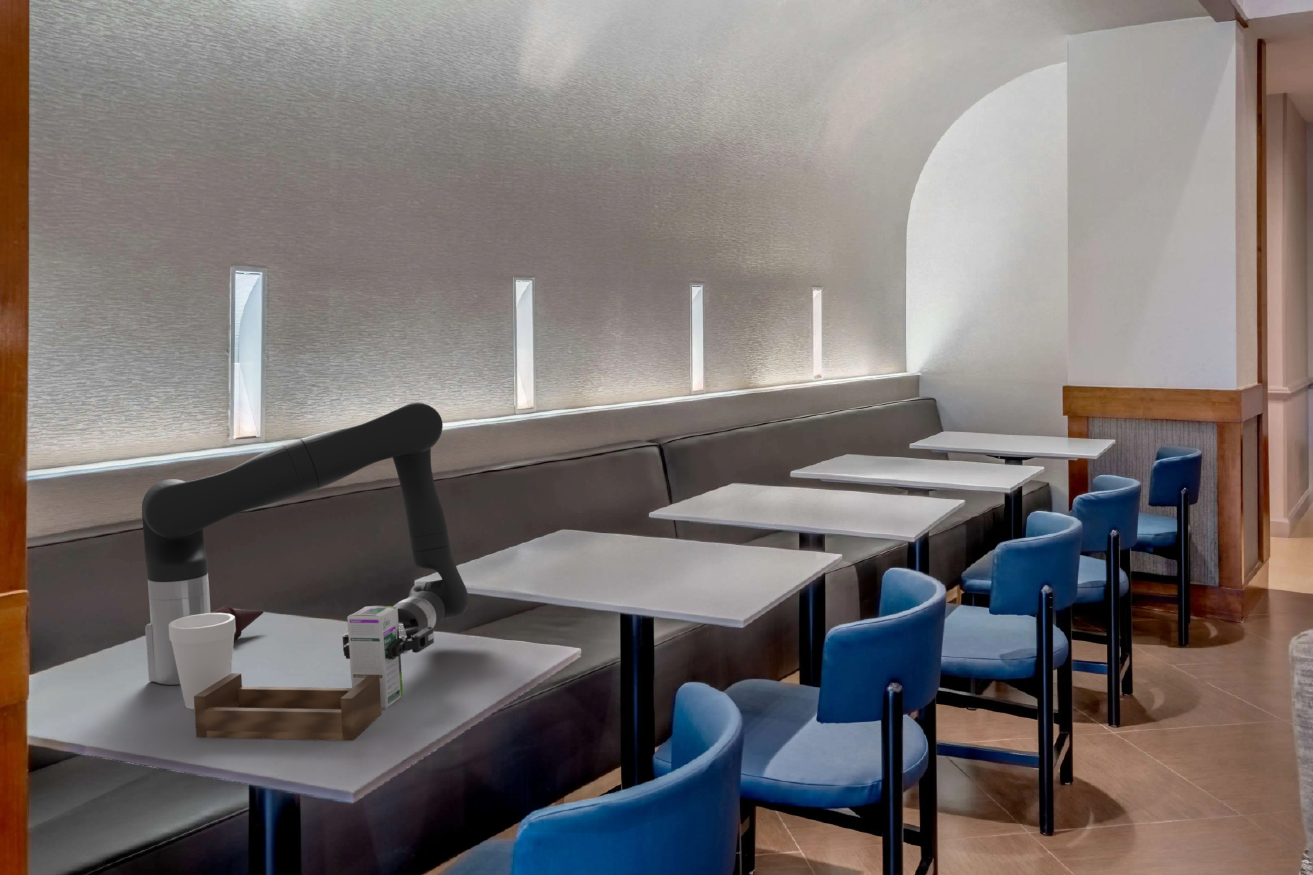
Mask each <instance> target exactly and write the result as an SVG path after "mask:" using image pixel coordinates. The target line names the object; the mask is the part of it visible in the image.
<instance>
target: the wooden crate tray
mask: <svg viewBox="0 0 1313 875" xmlns="http://www.w3.org/2000/svg"><path fill="white" fill-rule="evenodd" d="M242 679H243V678H242V673H240V672H239V673H238V672H237V673H234V672H233V673H232V672H231V674H229V675H228V676H226V677H225V678H223V679H221V680H220V681H218V682H216V683H215V684H213V685H211V686H210V687H208V688H206V689H205V690H203V691H202V692H200V693H198V694H197V695H195V696H194V708H195V709H194V719H195V735H196V736H195V738H196V737H202V738H206V737H207V738H206V739H211V738H212V739H248V740H250V739H253V740H255V739H257V740H258V739H260V740H298V741H299V740H301V741H302V740H304V741H305V740H307V741H309V740H311V741H350V742H351V741H355V740H356V739H357V738H358V737H359V736H360V735H361V734H362V733H364V732H365V731H366V730H367V729H368V728H369V726H371V725H372V724H373V723H374V722H375V721H376V720H377V719H378V718H379V717H380V716H381V715H382V709H381V698H380V677H379V675H368V676H367V677H366V678H365V679H364V680H362V681H361V682H360V683H359V684H357V685H356V686H355V687H354V688H352V687H319V686H318V687H315V686H314V687H312V686H311V687H310V686H309V687H308V686H307V687H304V686H303V687H302V686H299V687H298V686H243V680H242ZM208 737H209V738H208Z"/></svg>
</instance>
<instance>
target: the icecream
mask: <svg viewBox="0 0 1313 875" xmlns="http://www.w3.org/2000/svg"><path fill="white" fill-rule="evenodd" d="M212 613H226V614H231V615H233V616H235V627H236V631H235V634H234V641H237V640H238V639H239V638H240V637H241V636H242V631H244V630H245V629H246V628H247V627H248V626H250V625H251V624H252V623H254V621H256V620H257V619H258V618H259V617H260V616H262V615H263V614H264V610H258V609H235V608H234V607H232V606H227V605H223V606H221V607H219V608H217V609H216V610H214V611H213V612H212Z"/></svg>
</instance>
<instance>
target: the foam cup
mask: <svg viewBox="0 0 1313 875" xmlns="http://www.w3.org/2000/svg"><path fill="white" fill-rule="evenodd" d="M235 631H236V627H235V616H233V615H231V614H226V613H213V612H211V613H205V614H198V615H191V616H187V617H183V618H179V619H176V620H174V621H172V622H170V624H169V639H170V641H171V643H172V647H173V652H174V656H175V661H176V666H177V670H178V675H179V680H180V684H179V685H180V689H181V693H182V698H183V701H184V704H185V705H184V706H185V707H186V708H188V709H190V710H195V708H194V696H195V695H197V694H198V693H200V692H202V691H203V690H205V689H206V688H208V687H210V686H211V685H213V684H215V683H216V682H218V681H220V680H221V679H223V678H225V677H226V676H228V675H229V674H231V673H232V668H233V658H234V657H233V655H234V641H235V640H234V634H235Z"/></svg>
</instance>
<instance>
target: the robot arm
mask: <svg viewBox="0 0 1313 875" xmlns="http://www.w3.org/2000/svg"><path fill="white" fill-rule="evenodd" d="M443 428H444V427H443V420H442V417H441V415H440V413H439V412H438V411H437V410H436V409H435V408H434V407H432V406H430V405H429V404H427V403H426V404H425V403H423V402H418V401H417V402H416V401H415V402H412V401H411V402H408V403H405V404H403V405H400V406H399V407H398V408H395V409H393V410H391V411H389V412H387V413H384V414H381V415H380V416H378V417H375V418H373V419H370V420H367V421H365V422H362V423H359V424H356V425H350V426H348V427H347V426H346V427H342V428H341V427H340V428H337V429H332V430H328V431H325V432H320V433H317V434H313V435H310V436H306V437H303V438H302V437H301V438H299V439H296V440H293V441H290V442H286V443H284V444H281V445H278V446H275V447H273V448H270V449H268V450H265V451H264V452H261V453H260V454H257V455H255V456H254V457H251V458H250V459H248V460H246V461H245V462H242V463H240V464H239V465H237V466H235V467H233V468H230V469H229V470H226V471H223V472H220V473H217V474H213V475H208V476H205V477H201V478H198V479H193V480H188V481H185V480H182V479H176V478H172V479H170V478H168V479H164V480H163V479H162V480H160V481H158V482H157V483H155V484H153V485H152V486H151V487H150V488H149V489H148V490H147V492H145V495H144V496H143V499H142V503H141V519H142V532H143V533H142V534H143V545H144V558H145V559H144V560H145V564H146V565H145V566H146V576H147V589H148V600H149V601H148V602H149V603H148V604H149V616H150V622H149V623H147V624H146V625H145V627H144V628H145V643H146V657H147V658H146V660H147V673H148V681H149V682H154V683H157V684H159V685H166V686H167V685H181V684H180V680H179V675H178V670H177V666H176V661H175V656H174V652H173V647H172V643H171V641H170V639H169V624H170V622H172V621H174V620H176V619H179V618H183V617H187V616H191V615H198V614H205V613H212V612H211V600H210V599H211V598H210V584H209V581H210V580H209V573H208V572H209V570H208V569H209V568H208V557H207V551H206V545H205V535H204V529H206V528H208V527H210V526H211V525H214V524H216V523H219V522H220V521H222V520H225V519H227V518H230V517H232V516H234V515H236V514H240V513H242V512H245V511H248V510H253V509H256V508H260V507H264V506H267V505H272V504H275V503H278V502H282V501H285V500H288V499H292V498H294V497H298V496H302V495H304V494H307V493H310V492H312V491H316V490H317V489H321V488H323V487H326V486H329V485H330V484H334V483H335V482H337V481H340V480H342V479H344V478H346V477H348V476H351V475H352V474H354V473H356V472H358V471H360V470H362V469H363V468H366V467H368V466H370V465H373V464H374V463H375V464H376V463H378V462H381V461H384V460H387V459H391V458H392V460H393V463H394V467H395V469H396V474H397V477H398V480H399V484H400V485H399V486H400V489H401V494H402V501H403V507H404V512H405V518H406V526H407V534H408V540H409V547H410V552H411V558H412V563H413V566H414V567H415V568H417V569H420V570H432V571H435V572H436V573H438V575H439V576H440V578H441V579H439V580H431V581H425V582H420V583H417V584H415V585H413V586H412V587H411V588H410V590H409V592H408V593H409V594H408V596H407V598H405V599H402V600H400V601H398V602H397V603H395V604H394V605H393V606H391V607H397V609H398V624H399V639H396V640H394V641H393V642H392V643H391V644H389V645H388V659H395V658H396V657H397V656H402V655H405V654H407V653H409V651H412V653H416V654H417V653H419V652H421V651H423V650H424V649H426V648H428V647H429V646H431V645H433V644H434V643H435V638H434V637H435V635H434V630H435V628H437V627H438V626H439V624H440V623H441V622H442V620H443V619H450V618H455V617H456V618H457V617H459V616H462V615H464V613H465V612H466V610H467V608H468V605H469V593H468V592H469V591H468V590H467V587H466V585H465V583H464V581H463V578H462V576H461V575H460V572H459V569H458V568H457V564H456V562H455V560H454V556H453V554H452V550H451V546H450V545H451V544H450V536H449V530H448V524H447V519H446V516H445V512H444V510H443V506H442V502H441V501H440V497H439V495H438V492H437V488H436V485H435V480H434V476H433V472H432V471H433V470H432V458H431V457H432V455H431V454H432V453H431V452H432V451H431V450H432V448H434V446H435V445H436V444H437V442H438V441H439V440H440V437H441V435H442V432H443ZM342 651H343V656H344V657H345V659H346V660H350V652H349V636H348V630H346V632H344V634H343V635H342Z"/></svg>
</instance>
